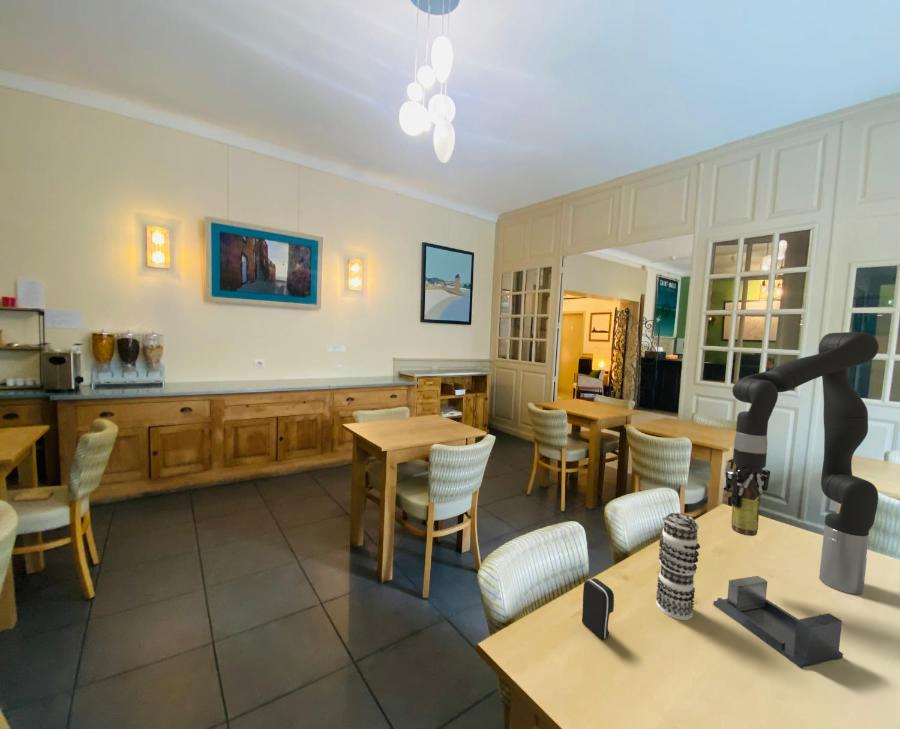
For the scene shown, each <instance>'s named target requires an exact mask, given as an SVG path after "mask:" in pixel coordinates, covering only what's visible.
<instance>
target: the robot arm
mask: <svg viewBox="0 0 900 729" xmlns="http://www.w3.org/2000/svg"><path fill="white" fill-rule="evenodd" d="M818 344H819V345H818V353H816V354H813V355H808V356H804V357H800V358H797V359H794V360H793V359H792V360H790V361H787V362H785V363H782V364H780V365H778V366H776V367H773V368H771V369H769V370H767V371H762V372H757V373H755V374H751V375H747V376H744V377H741V378H740V379H739V380H738V381H736V382H735V383H734V384H733V386H732V389H731V390H732V392H731V393H732V395H733V397H734V398H735V399H736V400H737V401H739V402H743V403H748V404H751V405H750V407H749V408H748V410H744V411H741V412H739V413H738V414H737V418H736V427H735V428H736V430H735V434H734V440H733V453H732V454H733V455H732V462H733V463H734V465H735V467H734V470H733V471H729V470H726V471H725V490H726V491H727V492H730V493H731V495H732V497H731V506H732V505H733V506H734V507H737V508H741V505H742V493H743V491H744V489H746V488H747V487H748V484H749V482H750V480H752V478H753V474H750V471H749V468H756V471H755V481H756V484H757V487H758V490H759V493H760V497H761V496H762V495H761V494H762V493H763V492H764V491H765V492H766V491H768V488H769V482H770V477H771V470H768V469H765V467H766V466H767V455H768V426H769V420H770V418H771V416H772V413H773V411H774V408H775V406H776V405H777V401H778V398H779V393H785V392H788V391H790V390H792V389H793V390H794V389H796V388H797V387H800V386H801V385H803V384H806V383H808V382H811V381H814V380H815V379H819V378H820V377H821V378H822V379H821V380H822V391H823V429H824V430H823V433H824V434H823V436H824V439H823V440H824V442H823V462H822V470H821V476H820V477H821V478H820V487H821V491H822V493H823V494H824V495H825V497H826V498H827V499H829V500H832V501H833V502H835V503H837V504H839V505H840V508H839V512H837V513H836V512H830V513H827V514H826V515H825V518H824V527H823V537H822V547H821V557H820V565H819V566H820V567H819V574H818V575H819V578H818V579H819V580H820V581H821V582H822V583H823V584H825V585H827V586H829V587H830V588H833V589H835V590H837V591H840V592H842V593H847V594H852V595H861V594H862V593H863V592H864V590H863V589H865V588H864V587H865V578H866V571H867V570H866V569H867V568H866V567H867V562H868V561H867V555H868V554H867V553H868V547H869V546H868V543H869V536H870V530H871V529H872V528H873V526H874V523H875V520H876V514H877V510H878V504H879V491H878V488H877V487H876V486H875V484H873V483H872V482H871V481H869V480H867V479H864V478H861V477H858V476H855V475H853V470H852V464H853V463H852V461H853V456H854V453H855V452H856V450H857V449H858V448H859V447H860V446H861V445H862V443H863V442H864V440H865V439H866V438H867V435H868V433H869V413H868V412H869V411H868V408H867V406H866V404H865V402H864V401H863V399H862V397H861V396H860V395H859V393H858V392H857V391H856V390H855V388H854V387H853V385H852V384H851V382H850V379H849V376H848V368H851V367H856V366H859V365H864V364H867V363H868V362H871V361H872V360H873V359H874V358H875V357H876V356H877V355H878V352H879V342H878V340H877V338H876V337H875V336H874V335H873V334H870V333H867V332H861V331H860V332H859V331H853V332H852V331H850V332H849V331H847V332H846V331H845V332H831V333H827V334H825V335H824V336H823V337H822V338H821V339H820V342H819V343H818ZM738 481H739V482H741V483H743V484H740V483H738ZM762 482H763V483H762ZM737 486H739V487H740V488H739V490H737ZM760 502H761V499H760V500H759V505H760Z"/></svg>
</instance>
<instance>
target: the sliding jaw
mask: <svg viewBox="0 0 900 729" xmlns="http://www.w3.org/2000/svg"><path fill="white" fill-rule="evenodd" d="M767 587H768V581H767V580H766V579H765V578H763V577H761V576H759V575H754V576H749V577H748V576H747V577H741V578H736V579H729V580H728V587H727V588H728V589H727V598H726V599H727V603H729V604H730V605H732V606H733V607H735V608H736V609H737V610H739V611H745V610H750V609H756V608H761V607H765V602H766V599H767V592H768V591H767V590H768V588H767Z"/></svg>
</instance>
